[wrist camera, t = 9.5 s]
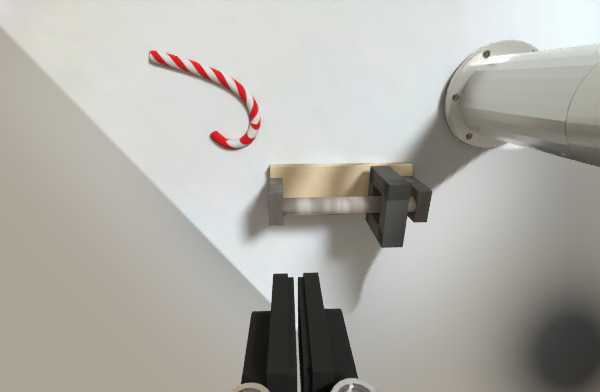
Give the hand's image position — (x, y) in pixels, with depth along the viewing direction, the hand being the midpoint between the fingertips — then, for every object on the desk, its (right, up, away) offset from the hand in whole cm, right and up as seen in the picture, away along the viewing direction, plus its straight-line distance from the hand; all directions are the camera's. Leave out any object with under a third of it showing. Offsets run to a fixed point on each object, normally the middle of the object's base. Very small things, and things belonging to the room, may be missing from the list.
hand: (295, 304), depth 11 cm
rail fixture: (+6, +5, +30) cm, 31 cm away
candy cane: (-11, +16, +25) cm, 32 cm away
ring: (+10, +4, +27) cm, 30 cm away
